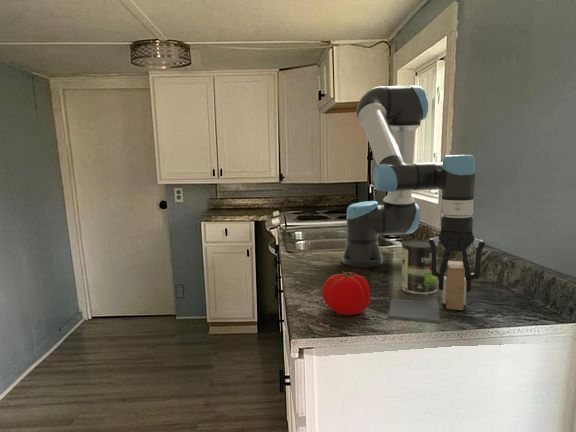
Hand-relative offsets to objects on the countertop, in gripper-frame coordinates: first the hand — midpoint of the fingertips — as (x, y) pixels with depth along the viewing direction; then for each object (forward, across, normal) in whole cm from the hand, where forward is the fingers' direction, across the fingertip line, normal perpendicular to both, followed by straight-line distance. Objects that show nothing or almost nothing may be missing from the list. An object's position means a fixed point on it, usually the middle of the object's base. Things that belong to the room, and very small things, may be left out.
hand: (453, 301), depth 101 cm
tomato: (+1, -27, -11) cm, 29 cm away
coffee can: (+1, -9, +12) cm, 15 cm away
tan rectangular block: (+1, 0, 0) cm, 1 cm away
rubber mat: (+1, -10, -6) cm, 12 cm away
